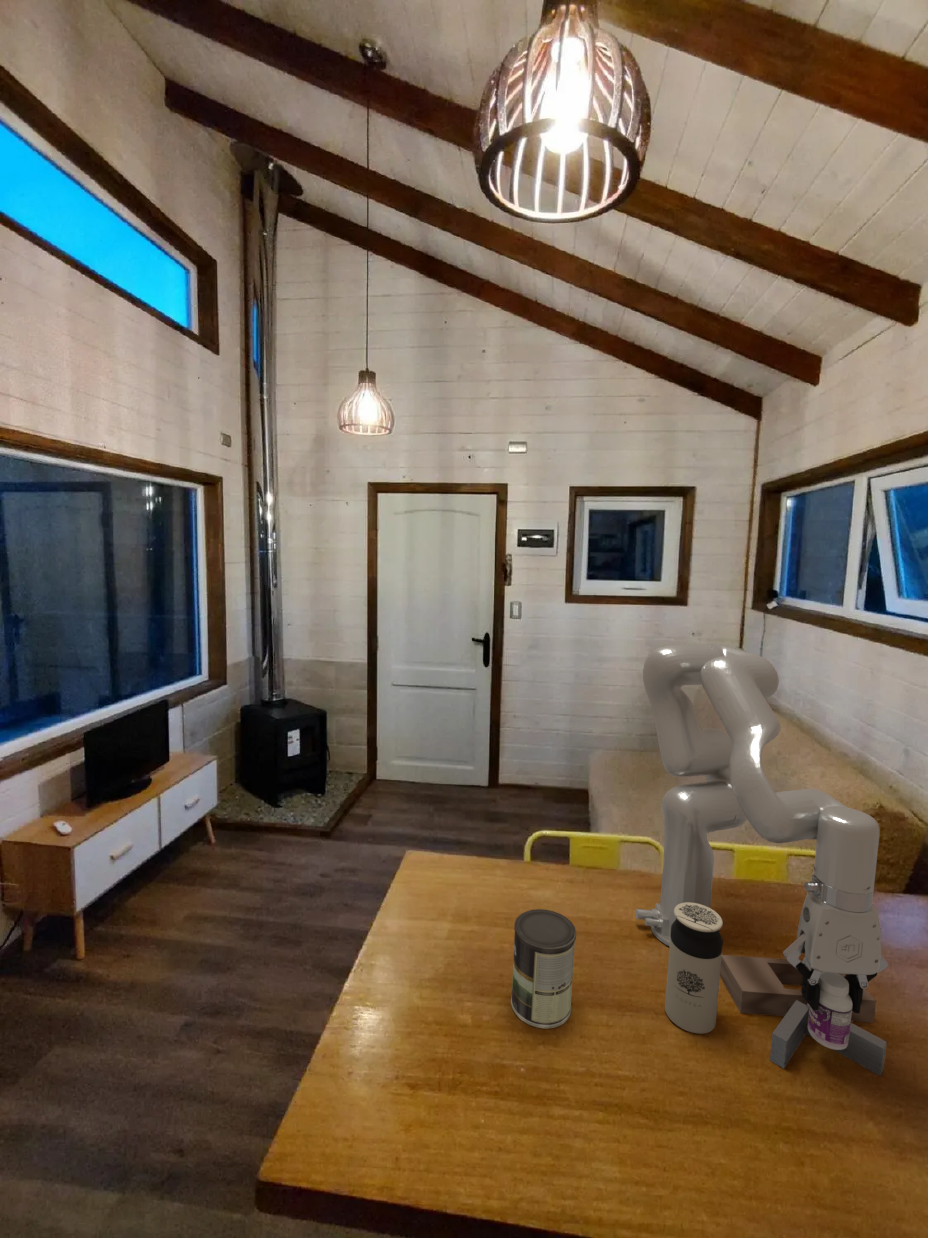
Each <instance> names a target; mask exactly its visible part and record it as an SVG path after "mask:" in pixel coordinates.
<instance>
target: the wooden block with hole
mask: <svg viewBox="0 0 928 1238" xmlns="http://www.w3.org/2000/svg"><path fill="white" fill-rule="evenodd" d="M800 960H801V959H800ZM802 961H803V959H802V960H801V962H802ZM811 969H812V967H811ZM811 969H810V971H811ZM838 974H840V975H841V976H843V977H845V974H842V973H838ZM720 979H721V981H722V982H723V984H724V986H725V987H726V989H727V991H728V993H729V995H730V997H731V998H732V1000H733V1002H734V1004H735V1006H736V1008H737V1009H738V1012H739V1013H740V1014H748V1015H749V1014H751V1015H763V1016H775V1017H776V1016H777V1017H784V1016H785V1015H786V1014H787V1012H788V1011H789V1009H790V1008H791V1007H792V1005H793V1004H794V1002H795V1001H796V1000H798V1001H799V1002H801V1003H803V1004H805V1005H807V1004H808V1003H807V1001H806V1000H805V999H804V998H803V996H802V992H801V990H802V989H791V988H785V985H788V986H789V985H790V986H802V979H803V975H802V974H801V973H800V972H799V971H798V970H797V969H796V968H795V967H794V966H793V965H792V964H791V963H790V962H788V961H787V959H786V958H775V957H774V958H773V957H759V956H743V955H729V954H722V957H721V969H720ZM876 1005H877V1000H876V999H875V997H873V995H872V994H871V993H870V992H869V991H868V990H867V988H865V989H863V996H862V1003H861V1006H860V1013H855V1012H853V1011H852V1015H851V1022H859V1023H873V1024H874V1022H875V1012H876V1007H877V1006H876Z"/></svg>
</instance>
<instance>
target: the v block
mask: <svg viewBox="0 0 928 1238" xmlns="http://www.w3.org/2000/svg"><path fill="white" fill-rule="evenodd" d="M809 1007H810V1005H809V1004H807V1005H805V1004H803V1003H801V1002H799V1001H798V1000H796V1001H795V1002H794V1004H793V1005H792V1007H791V1008H790V1009H789V1011H788V1012H787V1014H786V1015H785V1016H783V1018H782V1019H781V1020H780V1022H779V1023H778V1024H777V1027H776V1028H775V1029H774V1030H773V1032H772V1035H771V1045H770V1055H769V1061H771V1062H772V1063H773V1064H775V1065H777V1066H778V1067H780V1068H782V1069H785V1068H786V1067H787V1066H788V1064H789V1062H790V1060H791V1059H792V1057H793V1056H794V1054H795V1052H796V1051H797V1049H798V1047H799V1046H800V1045H801V1043H802V1041H803V1040H804V1038H805V1036H806V1035H807V1036H809V1037H811V1038H812V1039H814V1038H813V1037H812V1036H811V1034H810V1033H809V1030H808V1018H809ZM887 1043H888V1042H887V1041H886V1040H884V1039H883V1038H880V1037H878V1036H877V1035H875V1034H873V1033H871V1032H870V1031H867V1030H865V1029H864V1028H862V1027H859V1026H858V1025H856V1024H854V1023H852V1022H851V1024H850V1033H849V1040H848V1045H847V1047H846V1048H845V1049H842V1050H834V1049H832V1050H833V1051H835V1052H837V1053H838V1054H839V1055H840V1054H841V1056H844V1057H846V1058H847V1059H849V1060H851V1061H853V1062H854V1063H855V1064H857V1065H859V1066H861V1067H863V1068H864V1069H866V1070H869V1071H870V1072H872V1073H873V1074H875V1075H877V1076H879V1077H881V1075H882V1074H883V1071H884V1068H885V1067H884V1066H885V1060H886V1059H885V1058H886V1050H887Z"/></svg>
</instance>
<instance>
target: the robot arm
mask: <svg viewBox="0 0 928 1238" xmlns="http://www.w3.org/2000/svg"><path fill="white" fill-rule="evenodd" d="M642 681H643V686H644V688H645V689H644V690H645V692H646V695H647V698H648V701H649V703H650V707H651V710H652V714H653V718H654V725H655V730H656V735H657V736H656V737H657V741H658V748H659V754H660V758H661V762H662V766H663V768H664V770H665V771H666V772H667V773H668V774H669V775H671V776H673V777H677V778H690V777H699V776H705V779H706V781H705V782H704V781H703V782H695V783H692V782H691V783H685V784H680V785H677V786H674V787H672V788H670V789H669V790H668V791H667V792H666V793H665V794H664V796H663V798H662V801H661V811H662V818H663V828H664V832H663V833H664V845H663V862H662V863H663V864H662V874H661V889H660V903H659V902H657V903H655V906H654V907H655V908H650V909H645V908H644V909H643V908H636V909H635V912H634V913H635V917H636V920H643V921H644V925H645V926H647V927H649V926H650V930H651V932H652V933H653V935H654V936H655V938H657V939H658V941H660V942H662V943H663V944H664V945H665V946H668V947H669V948H670V935H671V926H672V924H673V922H674V921H675V920H676V917H675V914H674V908H675V907H676V906H677V905H678V904H681V903H686V902H691V903H697V904H701V905H704V906H706V907H709V908H711V903H712V902H711V901H712V890H713V881H714V879H713V878H714V867H715V865H714V864H715V855H714V850H713V848H712V846H711V844H710V842H709V840H708V836H707V835H708V834H709V833H714V832H718V831H719V832H720V831H724V830H729V829H730V830H731V829H736V828H739V827H740V826H742V825H744V824H745V823H746V822H747V821H748V822H749V824H750V826H751V827H752V828H753V830H754V831H755V832H756V833H757V834H758V835H759V836H760V837H761V838H762V839H764V840H766V841H767V842H770V843H774V844H786V843H795V842H800V841H805V840H816V845H815V853H814V854H815V856H814V865H813V874H812V876H811V877H812V878H811V880H810V881H805V882H804V885H803V886H804V890H805V891H806V892H807V894H806V896H805V899H804V902H803V905H802V908H801V912H800V916H799V922H798V928H797V933H796V935H797V936H796V939H795V940H794V941H793V942H792V943H791V944H790V945H789V946H787V948H785V949H784V950H783V951H782V955H783V957H784V959H787V961H788V962H790V963H791V964H792V965H793V966H794V967H795V968H796V969H797V970H798V971H799V972H800V973H801V974H802V975H803V979H802V985H801V989H800V990H801V992H802V996H803V998H804V999H805V1000H806V1001H807V1003H808V1004H809V1005H810V1007H811V1008H812V1009H813V1010H818V1009H819V999H820V989H821V988H820V986H819V984H818V983H817V982H818V980H819V978H820V975H821V973H822V972H828V973H842V974H845V977H844V978H845V979H846V980H847V981H848V983H849V993H848V994H849V996H850V997H851V1000H852V1004H853V1006H852V1011H853V1012H855V1013H860V1006H861V1003H862V996H863V989H867V988H868V987H869V982H871V981H872V980H873V979H875V978H876V977H877V976H878V973H881V972H882V971H884V970H885V969H887V968H888V967H889V963H888V961H887V960H886V959H885V958H884V956H883V955H882V935H881V933H882V931H881V923H880V916H879V915H880V914H879V912H878V908H877V907H876V905H874V903H873V899H874V898H873V897H874V893H875V892H874V890H875V882H876V881H875V880H876V879H875V878H876V870H877V860H878V852H879V851H878V850H879V842H880V826H879V823H878V821H877V819H875V818H874V817H873V816H871V815H869V814H868V813H865V812H864V811H861V810H858V809H856V808H852V807H848V806H846V805H845V804H843V803H842V802H840V801H838V800H837V799H835V798H834V797H832V796H831V795H829V794H828V793H826V792H825V791H822V790H819V789H816V788H801V789H800V788H799V789H794V790H793V789H791V790H784V791H783V790H782V791H776V792H775V790H774V789H773V787H772V785H771V783H770V781H769V779H768V777H767V775H766V772H765V771H764V768H763V761H762V755H763V751H764V748H765V746H766V745H767V744H769V743H770V742H772V741H773V740H774V739H775V738H777V737H778V736H779V734H780V732H781V729H782V725H781V723H780V721H779V719H778V717H777V716H776V715H775V712H774V711H773V710H772V708H771V706H770V705H769V703H768V701H767V700H766V699H767V698H769V697H771V696H773V695H774V694H775V693H776V692H777V690H778V687H779V682H780V681H779V675H778V672H777V669H776V667H775V666H774V665H773V664H772V663H771V662H770V661H769V660H768V659H767V658H765V657H763V656H761V655H758V654H756V653H751V652H747V651H743V650H740V649H737V648H733V647H729V646H727V645H721V644H713V643H711V644H710V643H704V644H701V643H700V644H699V643H695V644H692V643H691V644H689V643H688V644H686V643H683V644H681V643H680V644H670V645H669V644H668V645H664V646H659V647H657V648H655V649H654V650H652V651H651V652H650V653H649V654H648V656H647V657H646V659H645V661H644V664H643V669H642ZM683 686H702V689H703V690H704V691H705V694H706V695H707V697H708V699H709V701H710V703H711V705H712V707H713V710H714V711H715V712H716V714H717V716H718V718H719V720H720V722H721V724H722V727H723V728H724V729H725V731H724V730H722V729H720V728H715V727H706V728H705V727H703V728H700V724H699V721H698V716H697V714H698V713H697V710H696V707H695V705H694V703H693V701H692V700H691V698H690V697H689V695H688V694H687V693H686V692H685V691H684V690H683V689H682V687H683ZM802 954H804V958H803V959H802V960H803V961H802V962H801V959H800V958H799V957H800V956H801V955H802ZM811 967H812V969H811ZM810 969H811V971H810Z"/></svg>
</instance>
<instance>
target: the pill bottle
mask: <svg viewBox="0 0 928 1238" xmlns="http://www.w3.org/2000/svg"><path fill="white" fill-rule="evenodd" d="M817 983H818V984H819V986H820V988H821V989H820V999H819V1009H818V1010H813V1009H812V1008H811V1007H809V1018H808V1030H809V1033H810V1034H811V1036H812V1037H813V1038H812V1037H811V1038H812V1039H814V1040H815V1041H816V1042H817V1043H818V1044H820V1045H822V1046H823V1047H826V1048H828V1049H831V1050H833V1049H834V1050H833V1051H835V1050H842V1049H845V1048H846V1047H847V1045H848V1040H849V1033H850V1024H851V1023H852V1021H851V1015H852V1006H853V1004H852V1000H851V997H850V996H849V994H848V993H849V983H848V981H847V980H846V979H845V978H844V977H843V976H841V975H840V974H838V973H828V972H822V973H821V975H820V978H819V980H818V982H817Z"/></svg>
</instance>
